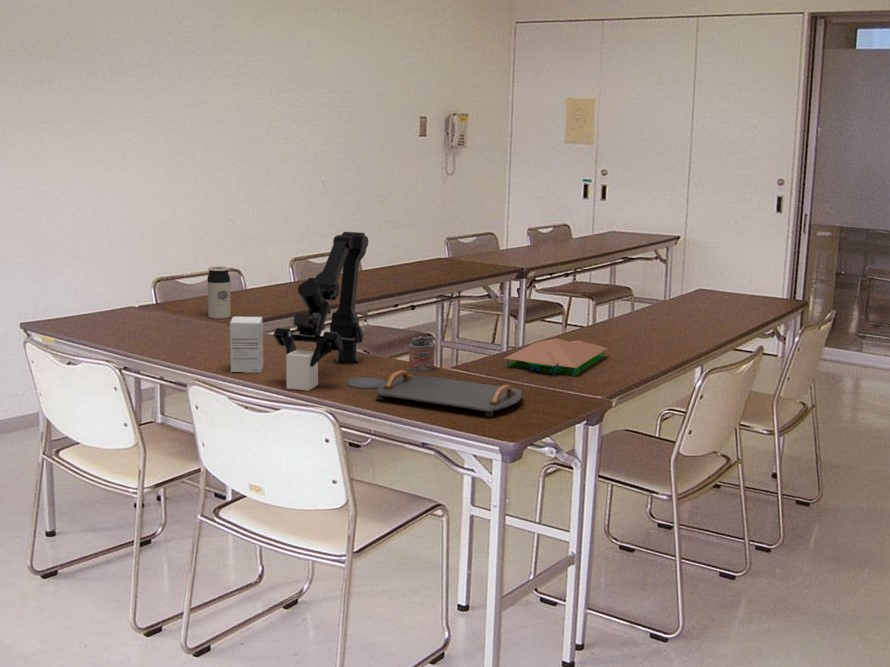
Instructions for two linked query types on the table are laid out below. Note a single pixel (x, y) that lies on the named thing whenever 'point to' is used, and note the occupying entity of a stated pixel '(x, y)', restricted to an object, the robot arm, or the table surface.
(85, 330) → the table surface
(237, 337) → the supplement box
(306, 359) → the white upright block
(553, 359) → the house
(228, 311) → the travel mug
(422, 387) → the serving board
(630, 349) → the table surface
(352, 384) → the mat
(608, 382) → the table surface
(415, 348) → the lighter
